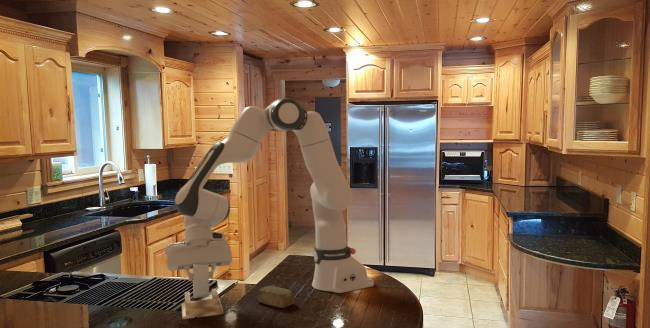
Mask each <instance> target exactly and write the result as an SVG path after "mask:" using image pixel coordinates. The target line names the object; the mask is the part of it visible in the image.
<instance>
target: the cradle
mask: <svg viewBox="0 0 650 328" xmlns="http://www.w3.org/2000/svg"><path fill="white" fill-rule="evenodd" d="M218 315H219V316H220V315H224V308H223V305H222V302H221V298H220V297H219V293H218V290H217V288H211V298H207V299H200V300H199V299H198V300H193V301H192V300H191V293H190V291H185V292H184V302H182V303H181V316H182V320H189V318H190V319H194V318H195V317H197V318H204V317H211V316H218ZM195 319H196V318H195Z"/></svg>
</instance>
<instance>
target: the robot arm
mask: <svg viewBox="0 0 650 328" xmlns="http://www.w3.org/2000/svg"><path fill="white" fill-rule="evenodd" d="M270 131H274V132H288V131H292V132H293V133H294V134H295V135H296V137H297V140H298V144H299V146H300V150H301V154H302V157H303V160H304V164H305V168H306V169H307V171H308V173H309V174H310V177H311V179H312V181H313V182H312V184H311V185H310V187H309V194H310V197H311V205H312V212H313V218H314V224H315V225H314V226H315V228H314V229H315V246H314V253H313V255H314V257H313V258H314V263H315V267H314V273H313V279H312V283H311V287H312V288H314V289H315V290H319V291H323V292H332V293H337V294H343V293H348V292H351V291H356V290H361V289H366V288H371V287H374V286H375V284H374V283H375V282H374V280H373V279H372V277H370V276H368V273H367V269H366V267H365V265H364V264H362V263H361V262H360V261H359V260H357V259H356V258H355V257H354V256H352V255H356V253H357V251H356V250H357V249H355V248H353V247H350V246H348V245H347V225H346V222H345V217H344V214H343V211H344V210H346V209H348V208H349V206H351V205H352V202H353V198H354V196H353V191H352V189H351V187H350V186H349V184H348V182H347V179H346V177H345V175H344V172H343V170H342V169H341V167H340V164H339V162H338V160H337V157H336V153H335V151H334V150H335V149H334V147H333V143H332V140H331V138H330V137H331V136H330V133H329V131H328V129H327V126H326V124H325V121H324V120H323V117H322V116H321V114H320V113H319V112H317V111H312V110H308V111H307V110H306V109H305V108H304V107H302V105H301V104H300V103H299V102H298V101H296V100H295V99H293V98H290V97H282V98H278V99H276V100H274V101H273V102H271V103H270V104H269V105H268V106H266V107H264V108H262V107H259V106H256V105H249V106H247V107H245V108H244V109H243V110H242V111H241V113H240V114H239V116H238V117H237V119H236V120H235V123H234V124H233V125H232V128H231V130H230V131H229V133H228V135H227V136H226V137H224V139H223V140H222V141H220V142H216V143H214V144H213V145H212V146H211V147H210V148H209V150H208V151H207V153H206V154H205V155H204V157H203V158H202V160H201V161H200V162H199V164H198V165H197V167H196V168H195V170H194V171H193V172H192V174H191V175H190V177H189V178H188V180H187V181H186V182H185V183H184V184H183V185H182V186H181V187H180V189H179V190H178V191H177V193H176V195H175V197H174V204H175V205H174V206H175V207H176V210H177V211H178V213H179V214H180V215H182V216H183V226H184V228H185V230H184V234H183V235H184V237H183V238H184V241H183V242H181V241H179V242H172V243H170V244H167V245H166V247H165V253H164V254H165V255H166V269H167V270H168V271H170V272H172V271H181V270H182V271H183V270H184V273H185V275H186V276H187V277H188V278H187V279H188V281H189V282H193V272H191V271H190V270H193V263H199V262H208V266H209V268H210V271H209V280H210V279H211V280H212V279H214V273H215V271H216V268H217V267H225V266H226V267H227V266H230V265H231V263H232V262H233V256H232V255H233V253H232V250H231V246H230V244H229V242H228V241H227V236H226V234H225V233H224V232H217V231H213V230H212V228H214V227H217V226H219V225H220V224H222V223H224V222H225V221H226V220H227V219H228V218H229V216H230V213H231V204H230V200H229V199H228V197H226V196H224V195H221V194H218V193H216V192H213V191H211V190H207V189H205V188H204V186H205V185H206V183H207V182H208V180H209V179H210V177H211V176H212V175H213V173H214V171H215V170H216V168H217V167H219V166H221V165H223V164H232V163H233V164H234V163H235V164H240V163H242V164H243V163H245V162H246V163H247V162H249V161H250V160H252V159H254V157H255V156H256V155H257V153H258V151H259V149H260V148H261V145H262V143H263V141H264V138H265V136H266V134H267V133H268V132H270Z"/></svg>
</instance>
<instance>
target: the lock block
mask: <svg viewBox="0 0 650 328" xmlns="http://www.w3.org/2000/svg"><path fill="white" fill-rule="evenodd" d="M209 268H210V267H209V266H208V262H199V263H193V269H192V273H193V281H192V286H193V287H192V288H193V290H192V291H193V299H199V298H200V299H201V298H209V297H210V279H209V272H210V271H209Z"/></svg>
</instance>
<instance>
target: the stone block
mask: <svg viewBox="0 0 650 328" xmlns="http://www.w3.org/2000/svg"><path fill="white" fill-rule="evenodd" d="M294 298H295V297H294V293H293V291H292V290H291V289H287V288H282V287H278V286H275V285H267V286H264V287H261V288H259V289H258V296H257V299H258V300H257V301H258V303H259V302H260V303H261V304H263V305H267V306H270V307H271V306H272V307H276V308H279V309H285V308H287V307H290V306H291V305H293V304H294V302H295V299H294Z"/></svg>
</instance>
